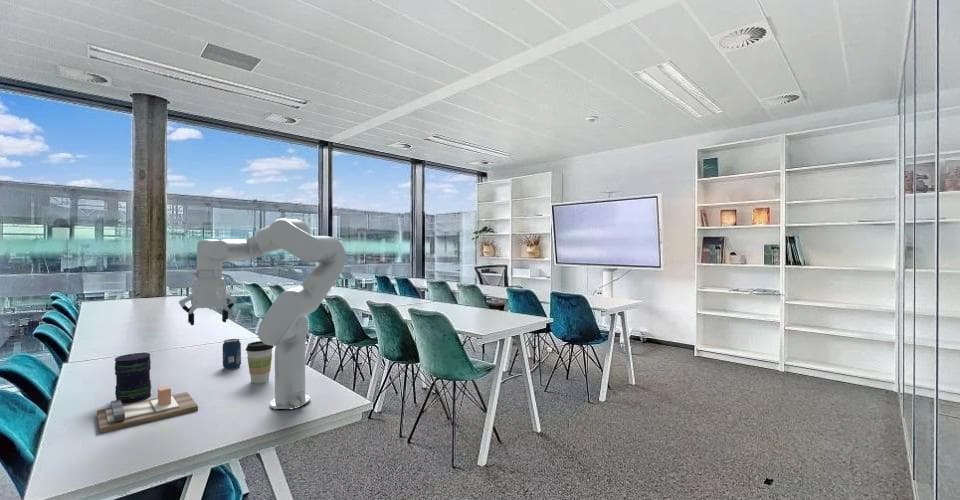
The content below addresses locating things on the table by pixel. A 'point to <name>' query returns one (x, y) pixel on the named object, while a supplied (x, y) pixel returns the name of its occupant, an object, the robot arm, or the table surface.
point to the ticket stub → (164, 400)
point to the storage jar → (133, 377)
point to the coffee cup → (259, 361)
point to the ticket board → (141, 412)
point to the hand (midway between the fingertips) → (208, 323)
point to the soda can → (231, 354)
